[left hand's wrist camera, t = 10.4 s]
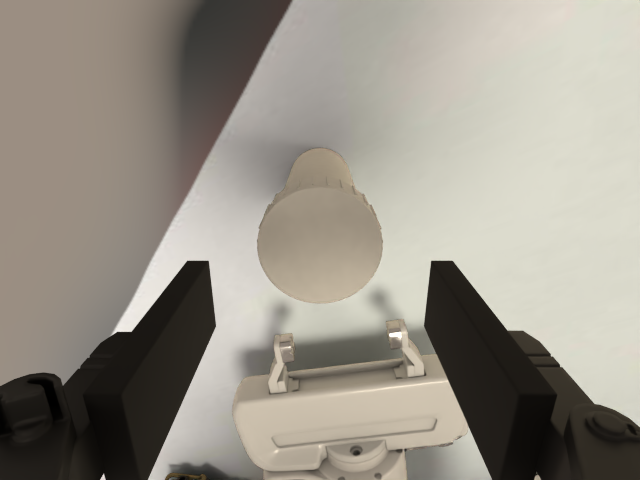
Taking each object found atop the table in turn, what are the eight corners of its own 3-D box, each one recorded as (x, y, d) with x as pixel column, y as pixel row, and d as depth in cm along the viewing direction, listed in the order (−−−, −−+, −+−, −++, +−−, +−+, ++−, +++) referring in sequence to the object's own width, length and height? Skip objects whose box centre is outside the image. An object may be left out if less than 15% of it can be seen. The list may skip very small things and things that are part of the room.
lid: (343, 152, 19) (346, 160, 17) (396, 251, 21) (405, 270, 19) (240, 211, 20) (230, 225, 18) (300, 300, 22) (297, 323, 20)
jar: (331, 136, 32) (341, 173, 18) (359, 188, 34) (390, 263, 19) (279, 166, 33) (246, 226, 18) (309, 216, 35) (301, 308, 20)
